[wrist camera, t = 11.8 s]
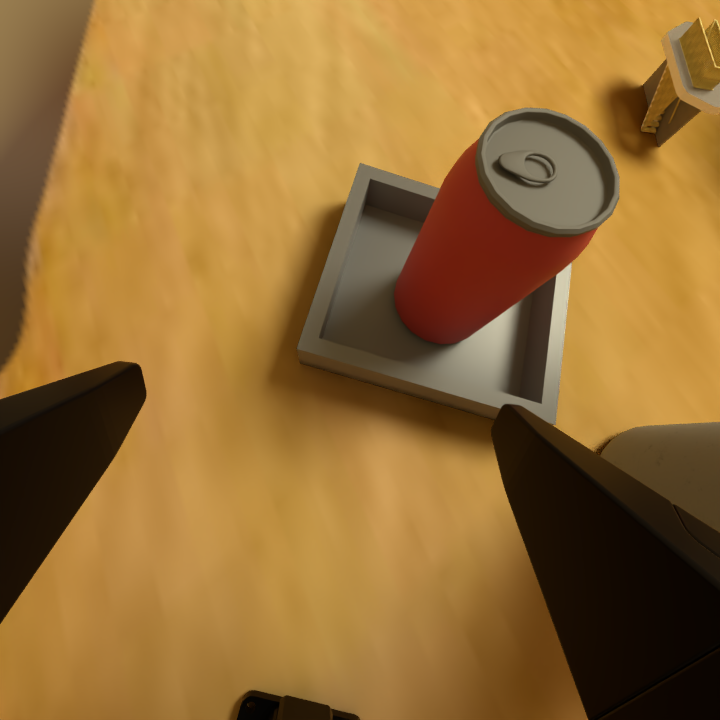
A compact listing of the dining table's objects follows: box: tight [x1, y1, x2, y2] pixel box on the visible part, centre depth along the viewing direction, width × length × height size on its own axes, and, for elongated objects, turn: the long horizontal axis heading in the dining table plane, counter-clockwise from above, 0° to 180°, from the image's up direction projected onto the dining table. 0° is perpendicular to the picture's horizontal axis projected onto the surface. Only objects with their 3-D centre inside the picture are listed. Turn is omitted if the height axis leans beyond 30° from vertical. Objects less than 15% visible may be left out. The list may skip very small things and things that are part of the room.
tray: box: [297, 163, 572, 425], centre depth 23 cm, size 14×16×4 cm
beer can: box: [394, 108, 619, 344], centre depth 18 cm, size 7×7×12 cm
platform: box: [640, 17, 720, 147], centre depth 30 cm, size 12×18×7 cm, turn 178°
